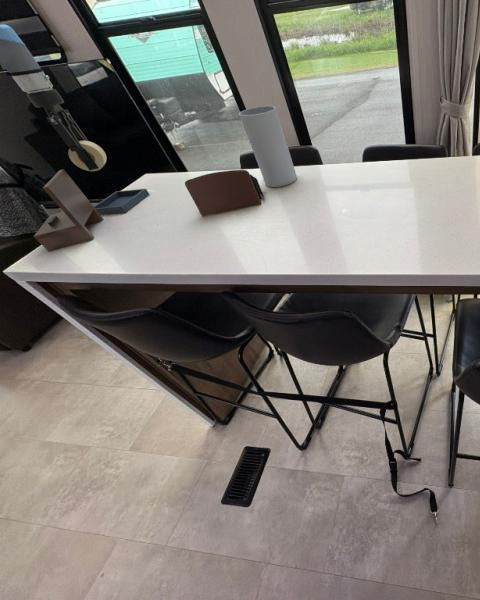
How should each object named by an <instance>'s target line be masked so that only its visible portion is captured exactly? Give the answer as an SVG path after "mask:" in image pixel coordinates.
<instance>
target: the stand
mask: <svg viewBox="0 0 480 600" xmlns="http://www.w3.org/2000/svg"><path fill="white" fill-rule="evenodd" d="M42 189H43V190H44V192H45V193H46V194H47V195H48V196H49V197H50V198H51V200H53V202H54V203H55V204H56V205H57V206H58V207H59V208H60V209H61V212H56V213H52V214H49V216H48V217H47V218H46V220H45V221H44V222H43V224H42V225H41V226H40V227H39V229H38V230H37V231H36V232H35V234H34V235H33V238H35V240H36V241H37V242H38V243H39V244H41V246H43V248H44V249H45V250H46V251H47V252H53V251H57V250H60V249H64V248H68V247H73V246H76V245H80V244H83V243H87V242H91V241H94V240H95V236H94V235H93V234H92V233H91V231H90V230H89V229H88V228H87V226H88V225H92V224H96V223H101V222H103V221H104V220H105V219H104V218H103V216H102V215H100V214H99V213H98V211H97V210H96V209H95V208H94V206H95V205H93V204H92V203H91V201H90V200H89V199H88V197H87V196H86V195H85V194H84V193H83V191H82V190H81V189H80V187H79V186H78V185H77V184H76V182H75V181H74V180H73V179H72V177H70V175H69V174H68V173H67V171H66V170H65V169H59V170H58V171H57V172H56V173H55V174H54V176H52V178H51V179H50V180H49V181H47V183H46V184H45V185H44V186H43V187H42Z"/></svg>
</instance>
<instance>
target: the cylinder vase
mask: <svg viewBox="0 0 480 600" xmlns="http://www.w3.org/2000/svg"><path fill="white" fill-rule="evenodd" d="M238 116H239V118H240V121H241V124H242V127H243V129H244V131H245V134H246V136H247V140H248V142H249V144H250V147H251V150H252V152H253V155H254V158H255V160H256V163H257V166H258V168H259V171H260V174H261V176H262V179H263V181H264V184H265V185H266V186H268V187H269V188H280V187H286V186H289V185H291V184H293V183H295V181H296V180H297V177H298V176H297V172H296V169H295V166H294V163H293V159H292V156H291V153H290V150H289V147H288V143H287V140H286V137H285V134H284V129H283V126H282V124H281V121H280V117H279V114H278V111H277V107H276V106H274V105H264V106H263V105H262V106H256V107H251V108H248V109H244V110H242V111H240V112H239V113H238Z"/></svg>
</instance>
